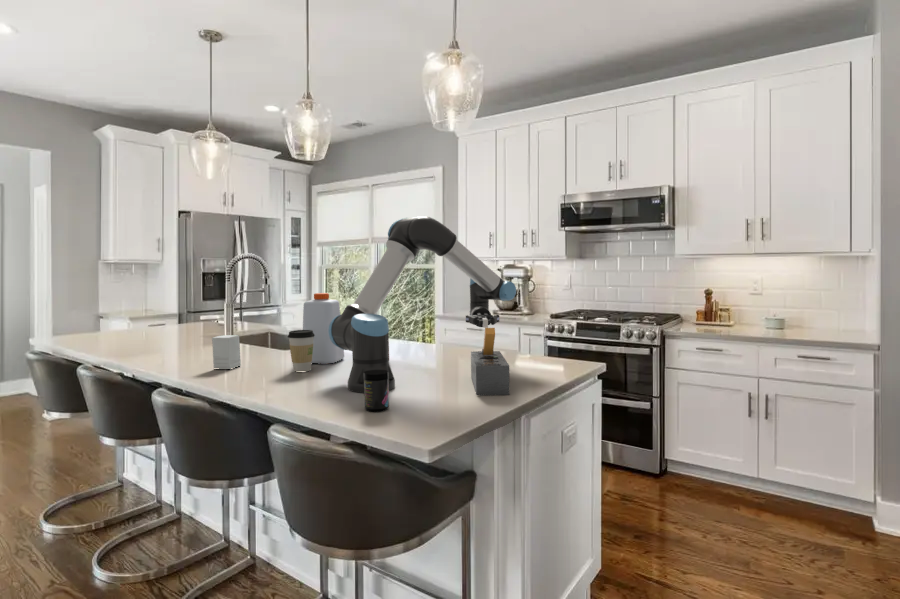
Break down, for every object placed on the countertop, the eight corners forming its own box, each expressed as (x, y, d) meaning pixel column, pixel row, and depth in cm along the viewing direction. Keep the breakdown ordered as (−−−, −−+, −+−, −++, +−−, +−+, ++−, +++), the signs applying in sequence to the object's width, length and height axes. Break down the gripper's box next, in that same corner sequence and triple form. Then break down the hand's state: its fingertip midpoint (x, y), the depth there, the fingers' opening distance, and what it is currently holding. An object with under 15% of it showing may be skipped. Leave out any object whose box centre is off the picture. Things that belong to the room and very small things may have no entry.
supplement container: (381, 413, 145) (380, 375, 144) (359, 411, 148) (358, 373, 147) (393, 407, 151) (392, 370, 151) (372, 405, 154) (371, 368, 153)
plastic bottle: (347, 358, 230) (345, 292, 228) (333, 365, 215) (331, 294, 213) (313, 357, 232) (311, 292, 230) (297, 364, 218) (295, 294, 216)
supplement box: (241, 366, 214) (240, 335, 213) (229, 370, 207) (228, 337, 206) (225, 366, 215) (223, 334, 215) (212, 369, 208) (211, 337, 207)
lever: (481, 350, 180) (484, 327, 170) (492, 350, 180) (495, 327, 170) (482, 356, 179) (484, 334, 169) (493, 356, 179) (496, 333, 169)
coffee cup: (321, 369, 206) (320, 330, 205) (301, 374, 197) (300, 333, 196) (303, 367, 211) (301, 329, 210) (283, 371, 203) (281, 332, 202)
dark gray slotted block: (468, 369, 203) (468, 344, 203) (495, 368, 203) (495, 343, 203) (476, 395, 163) (476, 364, 163) (509, 394, 164) (509, 364, 163)
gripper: (497, 325, 211) (504, 334, 187) (464, 326, 211) (467, 334, 187) (497, 306, 210) (504, 312, 187) (464, 307, 210) (466, 313, 187)
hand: (485, 323), depth 187 cm, fingers closed
